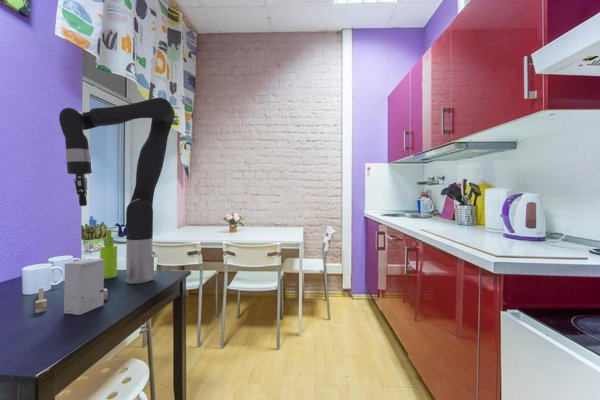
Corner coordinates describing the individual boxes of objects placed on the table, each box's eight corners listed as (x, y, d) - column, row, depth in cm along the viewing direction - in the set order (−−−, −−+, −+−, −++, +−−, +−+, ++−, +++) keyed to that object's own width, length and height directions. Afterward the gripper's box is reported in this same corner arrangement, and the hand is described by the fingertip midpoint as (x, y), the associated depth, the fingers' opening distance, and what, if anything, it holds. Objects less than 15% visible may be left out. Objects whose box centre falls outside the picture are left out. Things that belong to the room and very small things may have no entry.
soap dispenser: (113, 278, 117) (113, 230, 117) (96, 278, 117) (96, 230, 117) (122, 274, 123) (122, 228, 122) (106, 274, 123) (106, 228, 122)
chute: (99, 286, 107) (99, 278, 107) (107, 298, 95) (107, 290, 94) (36, 296, 96) (36, 287, 95) (35, 313, 83) (35, 303, 83)
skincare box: (79, 315, 81) (80, 264, 81) (62, 313, 83) (62, 263, 82) (105, 304, 90) (105, 258, 89) (89, 303, 91) (89, 257, 91)
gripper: (89, 159, 106) (93, 204, 107) (92, 163, 118) (96, 205, 118) (63, 159, 102) (68, 206, 103) (69, 164, 114) (73, 206, 114)
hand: (83, 205), depth 110 cm, fingers closed
